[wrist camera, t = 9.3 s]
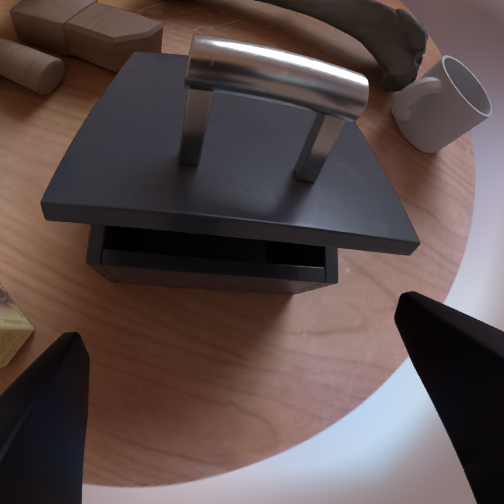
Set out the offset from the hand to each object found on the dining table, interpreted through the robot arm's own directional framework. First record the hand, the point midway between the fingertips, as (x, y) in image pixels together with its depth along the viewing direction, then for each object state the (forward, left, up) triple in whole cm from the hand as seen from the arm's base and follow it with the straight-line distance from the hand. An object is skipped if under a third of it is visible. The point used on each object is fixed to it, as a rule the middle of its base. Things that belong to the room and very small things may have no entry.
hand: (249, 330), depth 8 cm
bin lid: (+8, -3, -4) cm, 10 cm away
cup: (+13, -26, -13) cm, 32 cm away
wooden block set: (+23, +10, -13) cm, 28 cm away
